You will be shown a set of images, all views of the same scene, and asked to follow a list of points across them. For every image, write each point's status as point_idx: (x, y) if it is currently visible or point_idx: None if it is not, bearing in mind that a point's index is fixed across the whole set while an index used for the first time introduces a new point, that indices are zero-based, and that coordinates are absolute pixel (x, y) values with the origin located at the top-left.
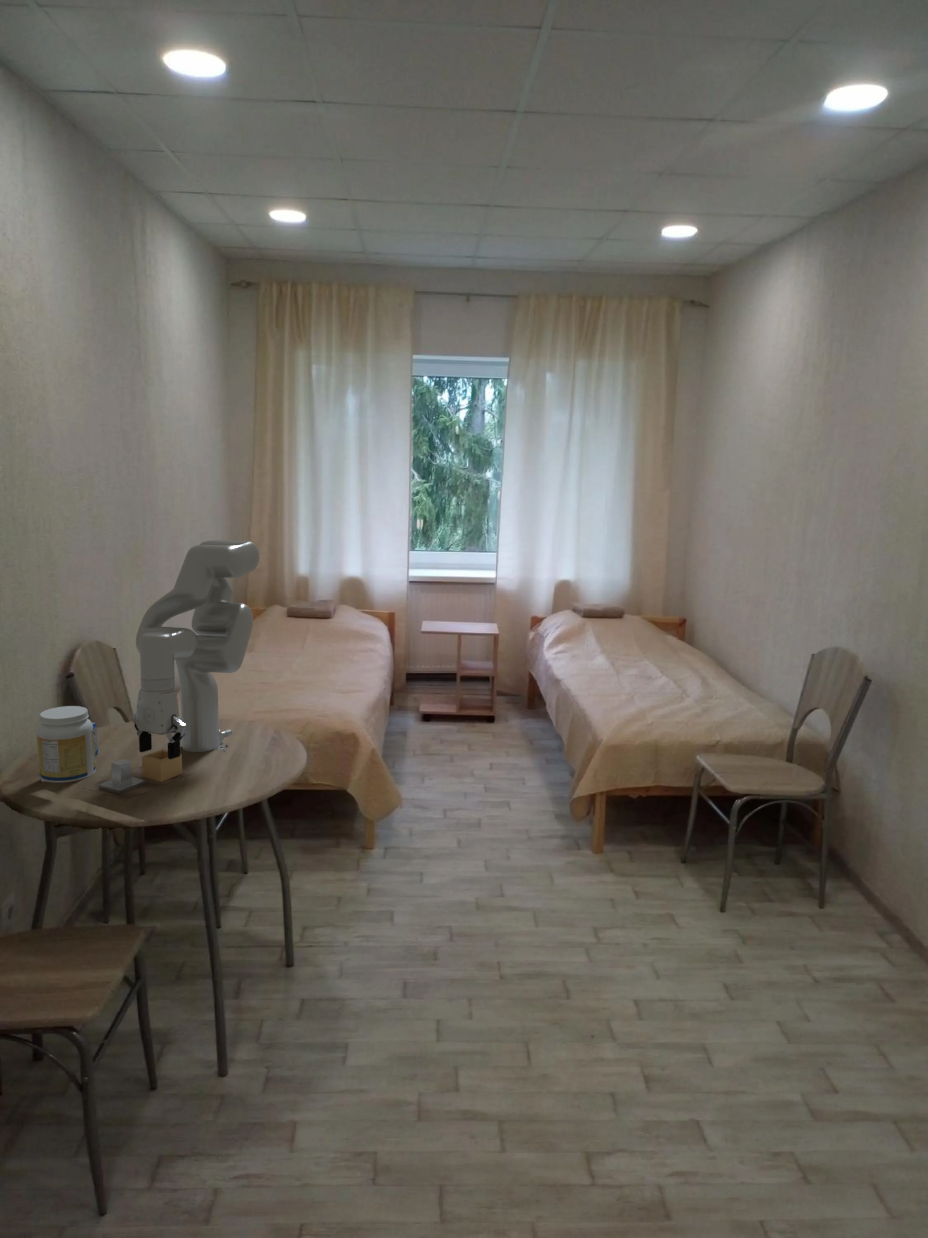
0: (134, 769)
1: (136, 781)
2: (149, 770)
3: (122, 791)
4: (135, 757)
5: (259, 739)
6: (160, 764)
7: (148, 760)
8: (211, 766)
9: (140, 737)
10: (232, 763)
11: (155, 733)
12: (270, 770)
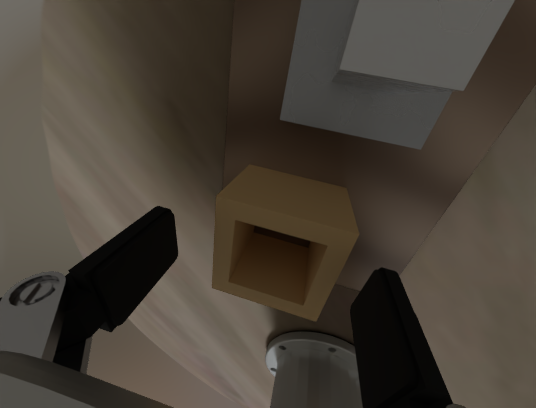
0: (419, 238)
1: (312, 94)
2: (306, 191)
3: None
4: (482, 338)
5: (253, 393)
6: (224, 190)
7: (306, 213)
8: (241, 301)
9: (422, 378)
10: (216, 315)
11: (95, 390)
12: None
